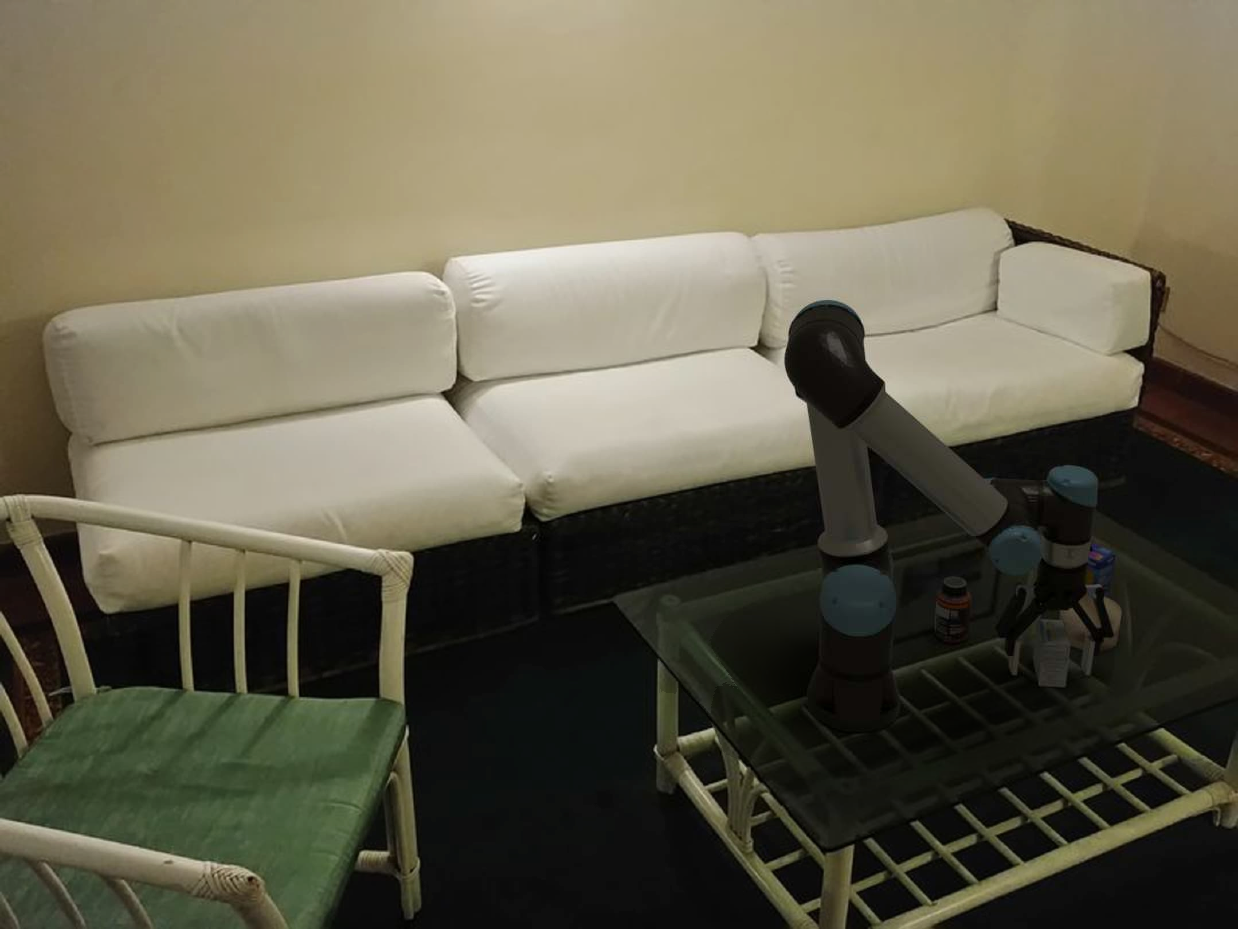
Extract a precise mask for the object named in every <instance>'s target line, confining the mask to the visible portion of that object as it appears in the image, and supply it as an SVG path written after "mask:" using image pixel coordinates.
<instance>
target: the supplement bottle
mask: <svg viewBox="0 0 1238 929" xmlns="http://www.w3.org/2000/svg"><path fill="white" fill-rule="evenodd" d="M967 584H968V583H967V580H965V579H964V578H962V577H960V576H954V575H953V576H948V577H945V578H944V579H943V582H942V587H940V589H938V591H937V594H936V601H935V603H936V604H935V614H934V615H935V617H934V635H935V637H936V638H938V639H939V640H941V641H942V642H944V643H949V644H958V643H962V642H964V641H966V640H967V639H968V638H969V630H970V617H971V607H972V606H971V605H972V604H971V603H972V595H971V593H970V591H969V590H968V589H967Z"/></svg>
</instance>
